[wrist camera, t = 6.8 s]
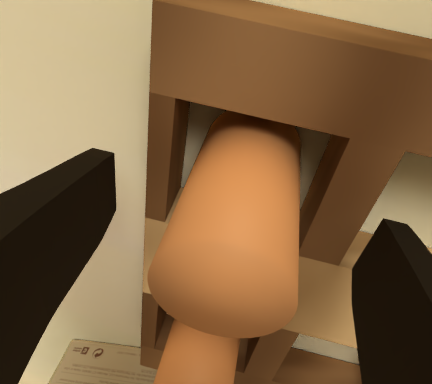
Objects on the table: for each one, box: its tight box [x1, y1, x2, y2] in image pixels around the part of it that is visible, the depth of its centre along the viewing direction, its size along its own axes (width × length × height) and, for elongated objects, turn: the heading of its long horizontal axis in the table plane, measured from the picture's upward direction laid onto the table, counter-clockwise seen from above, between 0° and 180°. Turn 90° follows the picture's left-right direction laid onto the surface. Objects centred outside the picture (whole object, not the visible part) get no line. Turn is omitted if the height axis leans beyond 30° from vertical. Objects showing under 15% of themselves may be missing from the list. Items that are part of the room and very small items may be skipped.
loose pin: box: [147, 110, 301, 338], centre depth 10 cm, size 3×3×6 cm
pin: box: [153, 318, 240, 384], centre depth 16 cm, size 3×3×6 cm
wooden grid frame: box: [140, 0, 432, 384], centre depth 14 cm, size 12×18×2 cm, turn 171°
